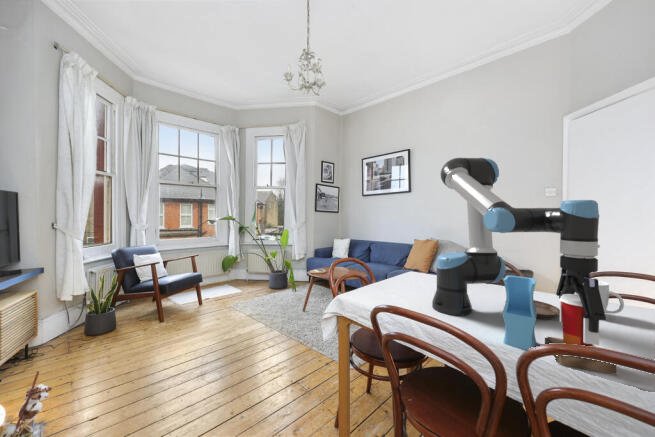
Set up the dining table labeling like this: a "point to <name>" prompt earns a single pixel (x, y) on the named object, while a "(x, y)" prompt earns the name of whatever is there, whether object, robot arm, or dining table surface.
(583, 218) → the robot arm
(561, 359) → the base
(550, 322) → the dining table surface
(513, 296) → the vase
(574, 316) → the paper cup
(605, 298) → the mug
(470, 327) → the dining table surface
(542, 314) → the plant saucer
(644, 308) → the dining table surface
